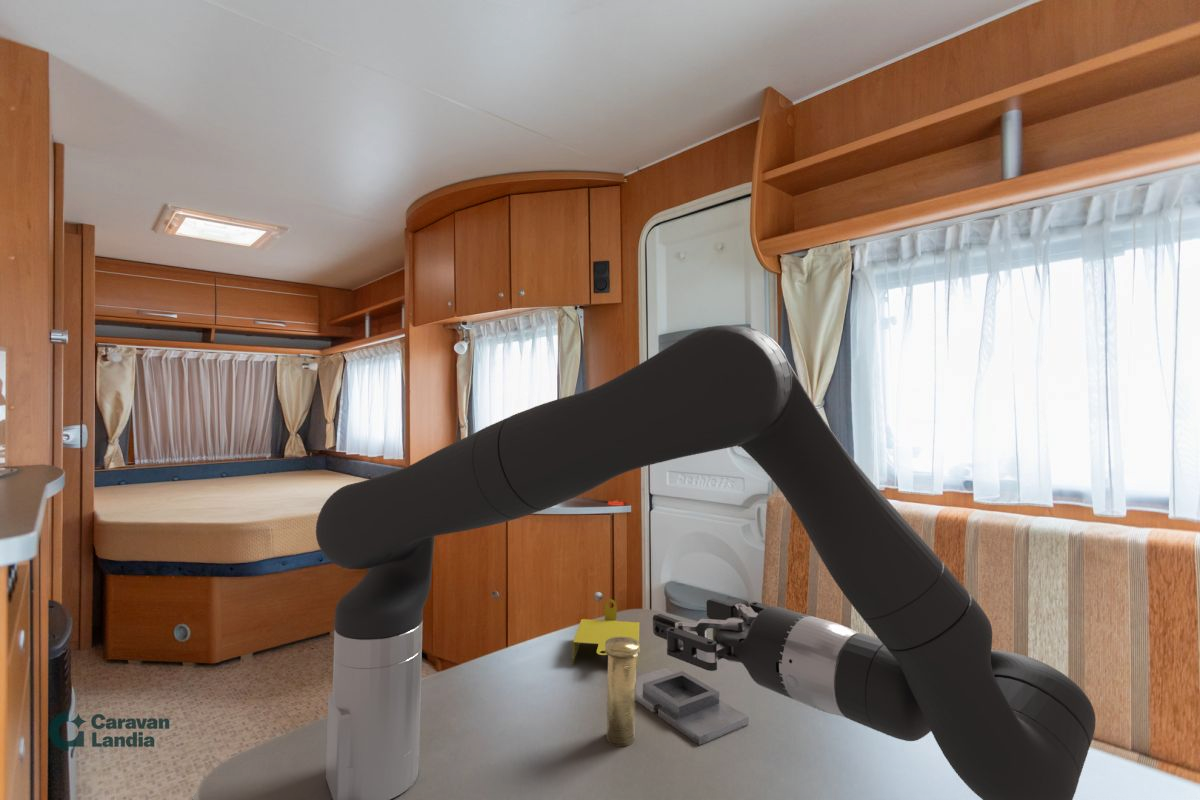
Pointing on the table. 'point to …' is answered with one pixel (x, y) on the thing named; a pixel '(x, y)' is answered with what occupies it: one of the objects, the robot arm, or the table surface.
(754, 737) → the table surface
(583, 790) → the table surface
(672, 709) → the grey socket base plate
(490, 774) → the table surface
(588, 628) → the bracket
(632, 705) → the hinge pin
